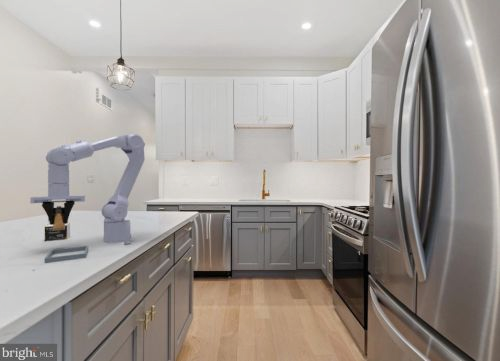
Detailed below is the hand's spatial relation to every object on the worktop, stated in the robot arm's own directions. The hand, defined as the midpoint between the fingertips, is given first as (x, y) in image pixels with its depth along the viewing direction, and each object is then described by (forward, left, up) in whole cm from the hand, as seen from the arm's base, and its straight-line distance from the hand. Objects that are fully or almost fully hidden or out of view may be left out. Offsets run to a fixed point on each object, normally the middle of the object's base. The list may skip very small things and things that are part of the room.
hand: (59, 223), depth 85 cm
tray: (-4, +9, -10) cm, 14 cm away
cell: (0, 0, -2) cm, 2 cm away
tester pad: (0, -1, -10) cm, 10 cm away
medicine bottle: (+3, -21, -10) cm, 24 cm away
